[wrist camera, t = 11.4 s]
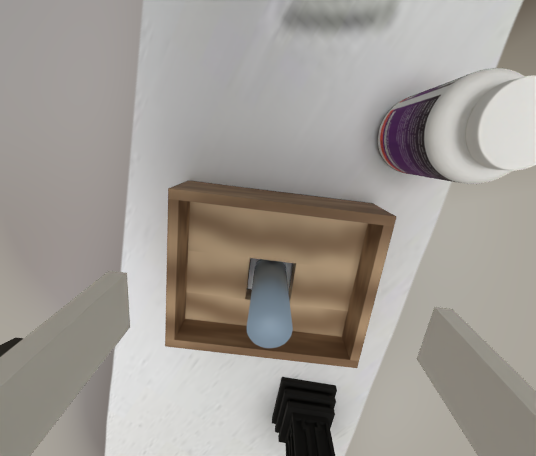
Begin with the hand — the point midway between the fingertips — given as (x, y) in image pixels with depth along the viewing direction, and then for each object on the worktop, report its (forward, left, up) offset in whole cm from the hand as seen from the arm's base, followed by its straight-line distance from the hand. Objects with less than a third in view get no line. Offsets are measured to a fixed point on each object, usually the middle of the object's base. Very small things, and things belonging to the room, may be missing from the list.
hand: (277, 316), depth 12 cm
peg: (+8, 0, -22) cm, 24 cm away
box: (+7, +1, -22) cm, 23 cm away
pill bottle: (-10, +14, -23) cm, 28 cm away
